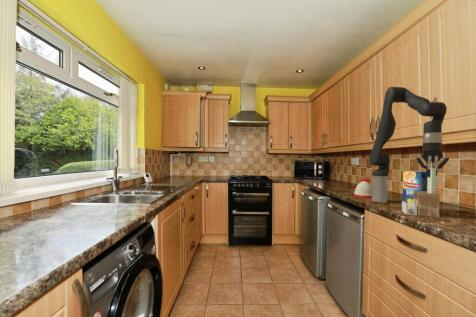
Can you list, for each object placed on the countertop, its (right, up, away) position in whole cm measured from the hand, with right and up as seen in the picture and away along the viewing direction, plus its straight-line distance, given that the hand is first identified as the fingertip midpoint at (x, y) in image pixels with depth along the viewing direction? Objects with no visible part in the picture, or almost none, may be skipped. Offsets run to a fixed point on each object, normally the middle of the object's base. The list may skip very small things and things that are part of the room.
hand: (431, 177), depth 118 cm
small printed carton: (-8, -20, +4) cm, 22 cm away
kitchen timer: (0, -20, +63) cm, 66 cm away
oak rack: (-2, -20, +1) cm, 20 cm away
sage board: (0, -14, 0) cm, 14 cm away
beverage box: (+1, -20, +12) cm, 23 cm away
